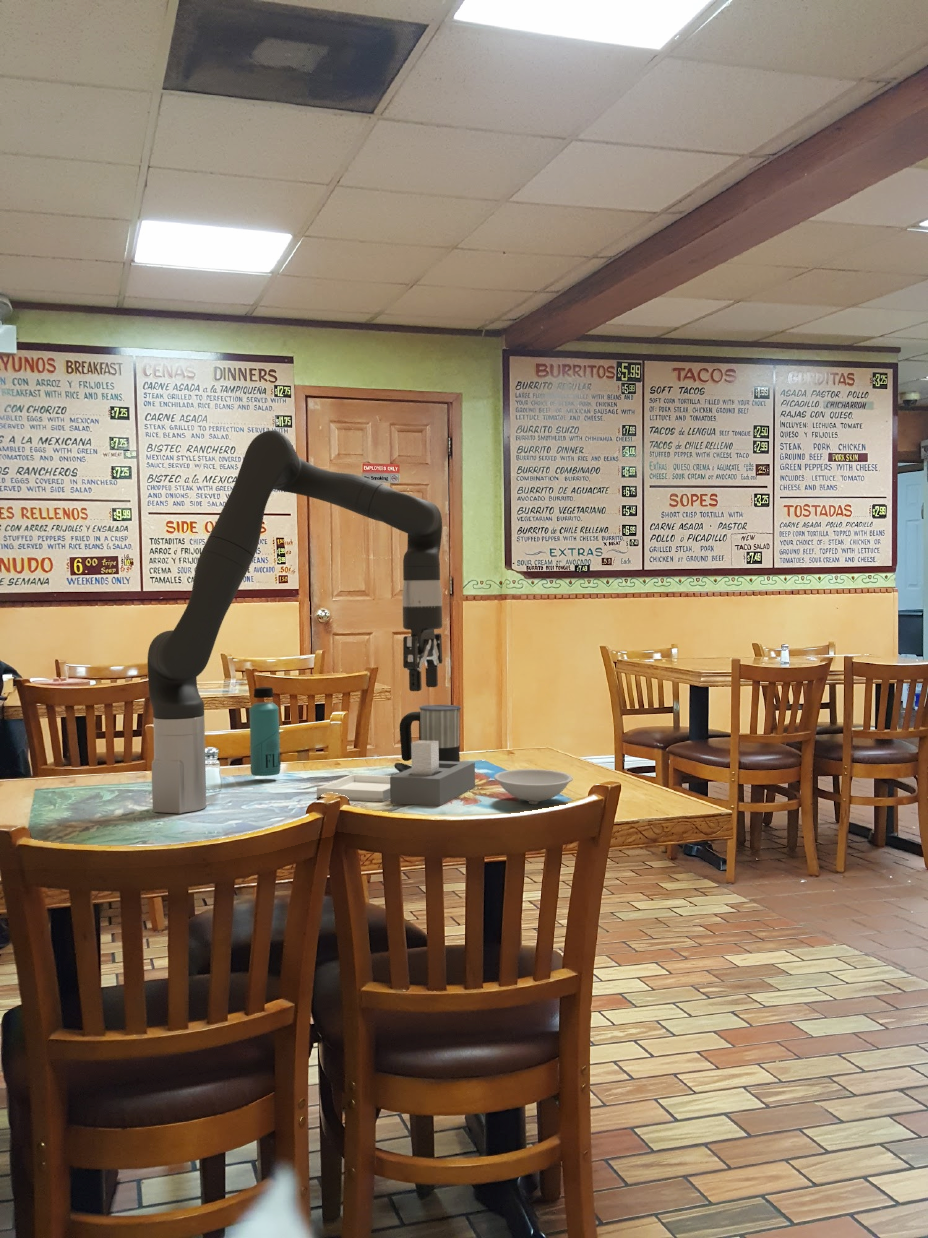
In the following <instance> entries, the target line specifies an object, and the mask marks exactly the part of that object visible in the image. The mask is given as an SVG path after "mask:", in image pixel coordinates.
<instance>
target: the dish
mask: <svg viewBox="0 0 928 1238" xmlns="http://www.w3.org/2000/svg"><path fill="white" fill-rule="evenodd" d="M493 778H494V780H495V781H496V782H498V783H499V785H500V786H501V788H502V789H503V790H504V791H505V792H507V794H509V795H510V796H511V797H514V798H516V799H519V800H523V801H527V802H528V804H530V805H537V804H538V803H539V802H540V801H541V802H542V801H546V800H549V799H550V800H551V799H553V798H555V797H556V796H558V795H559V794H561V793H562V792H563V791H564V790H565V789H566V788H567V786H568V785H569V784H570V783H571V782H572V781H573V780H574V777H573V776H572V775H571V774H568V773H566V772H564V771H558V770H551V769H541V768H539V769H537V768H530V769H529V768H523V769H510V770H509V769H508V770H503V771H500V772H497V773H496V774H494V776H493ZM538 805H539V804H538Z"/></svg>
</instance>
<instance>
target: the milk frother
mask: <svg viewBox="0 0 928 1238" xmlns="http://www.w3.org/2000/svg"><path fill="white" fill-rule="evenodd" d="M418 708H419V710H420V711H411V712H409V713H407V714H405V715H404V716H402V718H401V720H400V722H399V741H400V751H401V759H402V761H404V762H409V761H412V754H411V743H413V742H412V741H413V738H412V737H413V736H412V723H413V722H418V741H419V740H426V741H438V745H439V761H453V762H461V759H460V758H461V757H460V755H461V754H460V710H461V709H462V706H460V705H457V704H456V705H455V704H454V705H453V704H424V705H421V706H419V707H418ZM393 767H394V768H395V770H396V771H398V773H400V772H403V771H405V770H407V769H410V768H412V765H409V764H405V763H403V762H396V763H394V765H393Z"/></svg>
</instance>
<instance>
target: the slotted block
mask: <svg viewBox="0 0 928 1238" xmlns="http://www.w3.org/2000/svg"><path fill="white" fill-rule="evenodd" d="M390 776H391V777H390V799H389V800H390V803H389V804H395V805H397V804H398V805H399V804H400V805H401V804H402V805H415V806H418V805H419V806H434V807H435V806H436V807H441V806H442V805H445V804H446V803H448V802H450V801H452V800H454V799H455V798H457V797H459V796H461V795H462V794H464V793H467V792H468V791H470V790H472V789H474V788H475V787H476V762H474V761H460V762H453V761H439V773H438V774H436V775H434V776H425V775H412V768H410V769H407V770H405V771H403V772H398V773H396V774H393V775H390Z"/></svg>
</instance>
